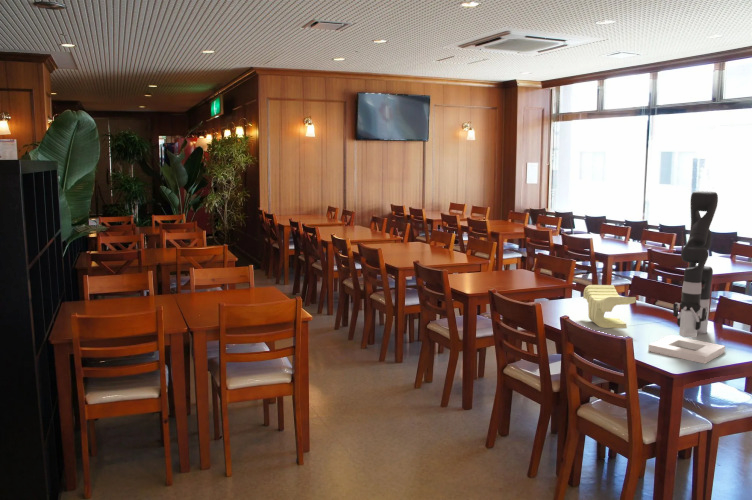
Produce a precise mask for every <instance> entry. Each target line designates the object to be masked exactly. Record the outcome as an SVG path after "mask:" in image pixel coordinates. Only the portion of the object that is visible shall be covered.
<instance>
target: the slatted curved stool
mask: <svg viewBox="0 0 752 500" xmlns="http://www.w3.org/2000/svg"><path fill="white" fill-rule="evenodd" d="M583 299H584V300H586V301H587V306H588V319H589V320H590V321H591V322H593V323H594V324H596V325H597V327H599V328H608V329H609V328H610V329H612V328H616V329H627V328H628V327H627V323H626V322H624V321H623V320H622V319H620V318H618V317H617V318H616V317H615V318H614V317H605V313H606V312H607V313H608V312H610V313H611V312H613V311H612V310H614V307H616V306H618V305H620V306H621V305H631V304H635V303H636V301H637V297H635V296H620V295H619V293H618V292H617V289H616V287H615V285H614V284H589V285H586V287H584V290H583Z"/></svg>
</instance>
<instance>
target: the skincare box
mask: <svg viewBox="0 0 752 500" xmlns="http://www.w3.org/2000/svg"><path fill="white" fill-rule="evenodd" d="M681 311H682V315H681V319H680V327H679V332H678V333H679V334H678V336H679V337H683V338H697V334H698V333H697V330H696V322H697V321H696V318H695V317H694V315H693V313H692V311H690V310H683V309H682V308H681V309H680V312H681ZM696 314H697V315H698V314H699V311H697V313H696Z"/></svg>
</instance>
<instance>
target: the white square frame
mask: <svg viewBox="0 0 752 500" xmlns="http://www.w3.org/2000/svg"><path fill="white" fill-rule="evenodd" d="M725 349H726V345H723V344H717V343H711V342H707V341H702V340H698V339H692V338H689V337H682V336H679V335H672V334H669V335H667V336H665V337H662V338H661V339H659V340H656V341H653V342H651V343H649V344H648V350H647V351H648V352H650V351H651V352H652V353H655V354H659V353H660V355H664V356H668V357H674V358H677V359H678V358H679V359H683V360H687V361H692V362H694V363H695V362H696V363H699V364H707V363H709V362H710V361H712V360H714V359H716V358H717V357H719V356H721V355H724V353H726V350H725Z"/></svg>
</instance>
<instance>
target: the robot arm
mask: <svg viewBox="0 0 752 500" xmlns="http://www.w3.org/2000/svg"><path fill="white" fill-rule="evenodd" d="M718 197H719V196H718V193H717V192H716V191H709V190H707V191H705V190H701V191H700V190H694V191H693V192H692V193H691V196H690V231H689V232H690V233H689V238H688V241H687V242H686V244H685V245H684V247H683V248H682V250H681V253H680V258H681V259H682V261H683V262H684V263H688V267H686V268H685V269H684V273H683V274H684V275H683V283H682V288H681V301H680V303H679V302H675V303H673V307H672V309H673V312H672V315H673V317H675V318H676V319H677V323H676V324H677V327H679V328H680V319H681V315H682V311H681V310H680V312H679V308H681V309H683V310H690V311H692V313H693V315H694V317H695V318H696V321H697V322H696V330H697V334H707V332H708V323H709V313H710V312H709V311H710V299H711V288H712V282H713V268H712V267H711V266H707V265H706V263H707V260H708V258H709V250H710V249H711V247H712V237H713V236H712V235H713V234H712V231H711V230H710V227H711V225H712V221H713V219H714V216H715V214H716V211H717V207H718V204H719V203H718V202H719V198H718ZM700 212H705V214H703V216H701V213H700ZM705 265H706V266H705ZM697 311H699V314H698V315H697V314H696V313H697Z"/></svg>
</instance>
